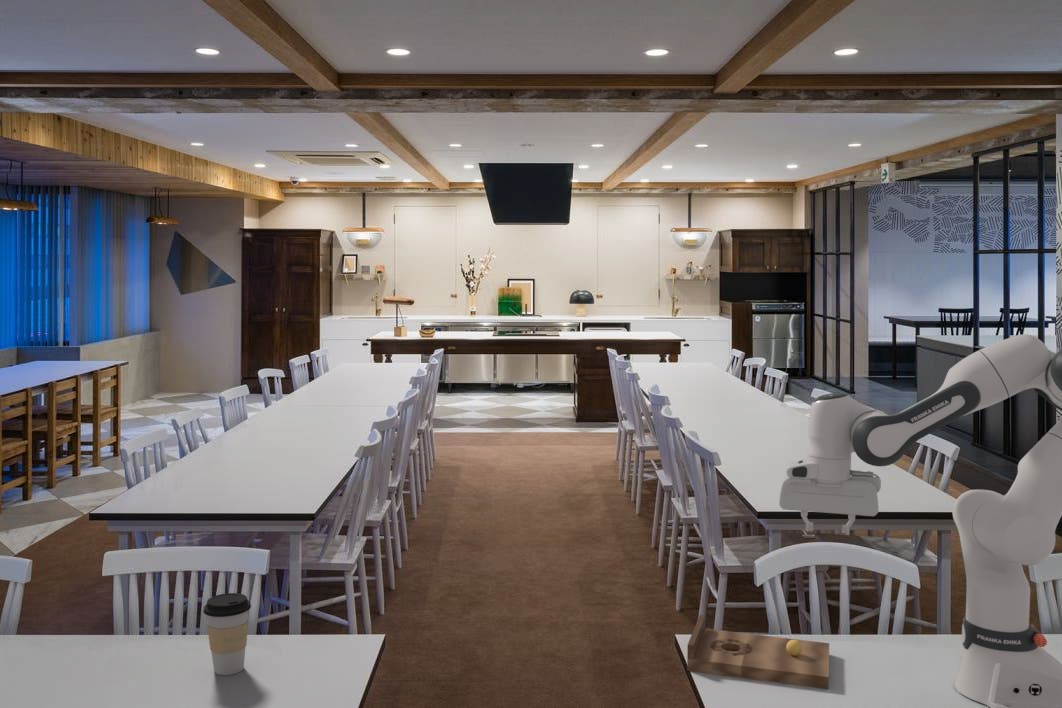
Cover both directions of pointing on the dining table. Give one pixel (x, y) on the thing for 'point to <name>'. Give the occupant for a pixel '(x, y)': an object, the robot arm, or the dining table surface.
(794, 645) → the ball
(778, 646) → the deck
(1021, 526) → the robot arm
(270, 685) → the dining table surface
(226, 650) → the coffee cup
